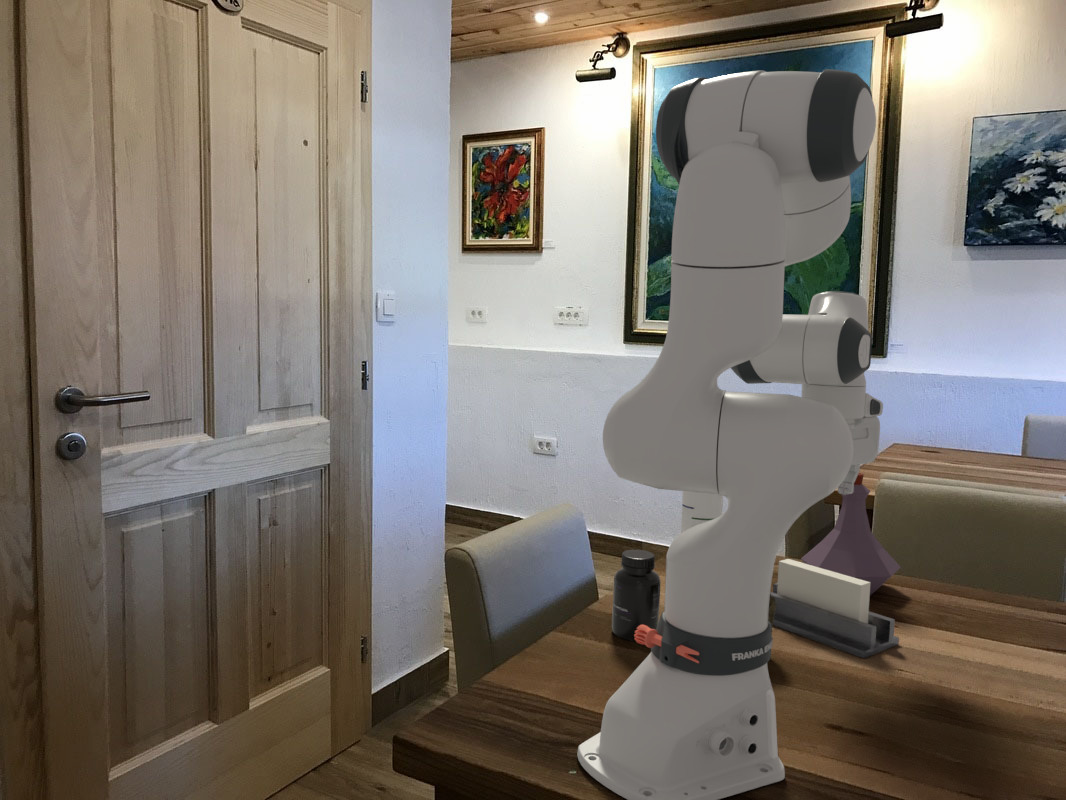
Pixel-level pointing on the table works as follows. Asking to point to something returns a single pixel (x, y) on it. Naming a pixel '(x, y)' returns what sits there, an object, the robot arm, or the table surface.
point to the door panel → (824, 589)
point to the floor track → (834, 627)
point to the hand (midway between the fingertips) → (827, 497)
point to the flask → (854, 544)
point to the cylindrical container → (699, 508)
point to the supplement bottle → (635, 594)
